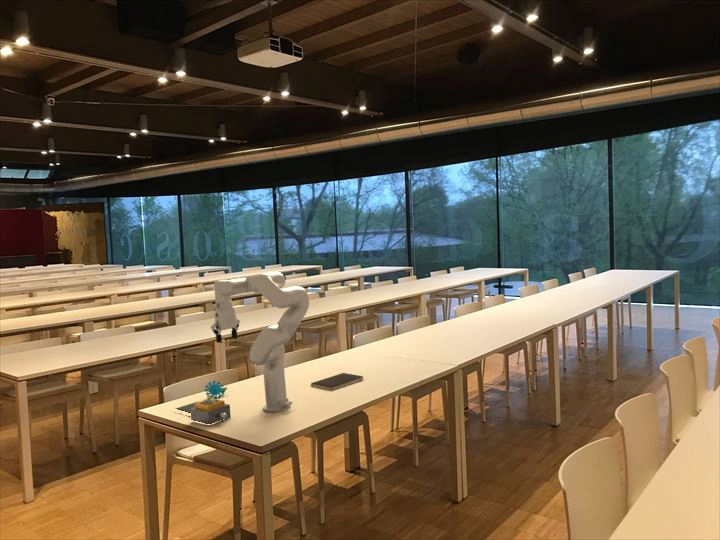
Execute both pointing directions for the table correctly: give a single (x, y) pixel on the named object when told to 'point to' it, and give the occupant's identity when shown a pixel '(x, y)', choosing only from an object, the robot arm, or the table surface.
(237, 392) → the table surface
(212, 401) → the spout can
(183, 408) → the dark grey flat slab
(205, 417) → the box
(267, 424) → the table surface
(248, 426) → the table surface
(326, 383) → the hardcover book
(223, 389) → the gear
